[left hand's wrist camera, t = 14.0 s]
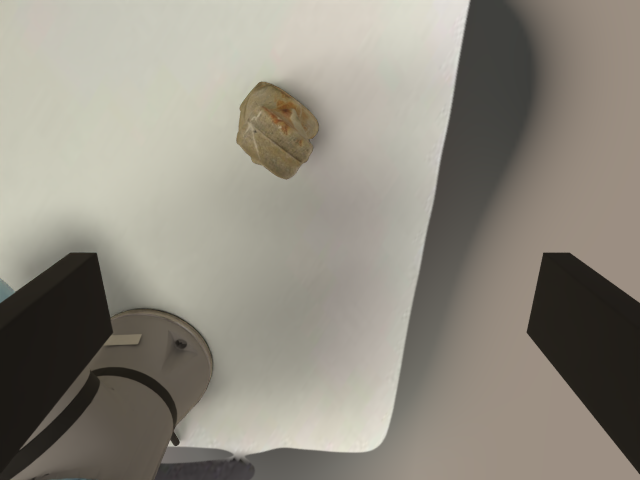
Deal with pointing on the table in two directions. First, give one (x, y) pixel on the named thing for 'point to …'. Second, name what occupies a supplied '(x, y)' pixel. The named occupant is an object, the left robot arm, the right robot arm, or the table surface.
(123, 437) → the left robot arm
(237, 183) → the table surface
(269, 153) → the sculpture
